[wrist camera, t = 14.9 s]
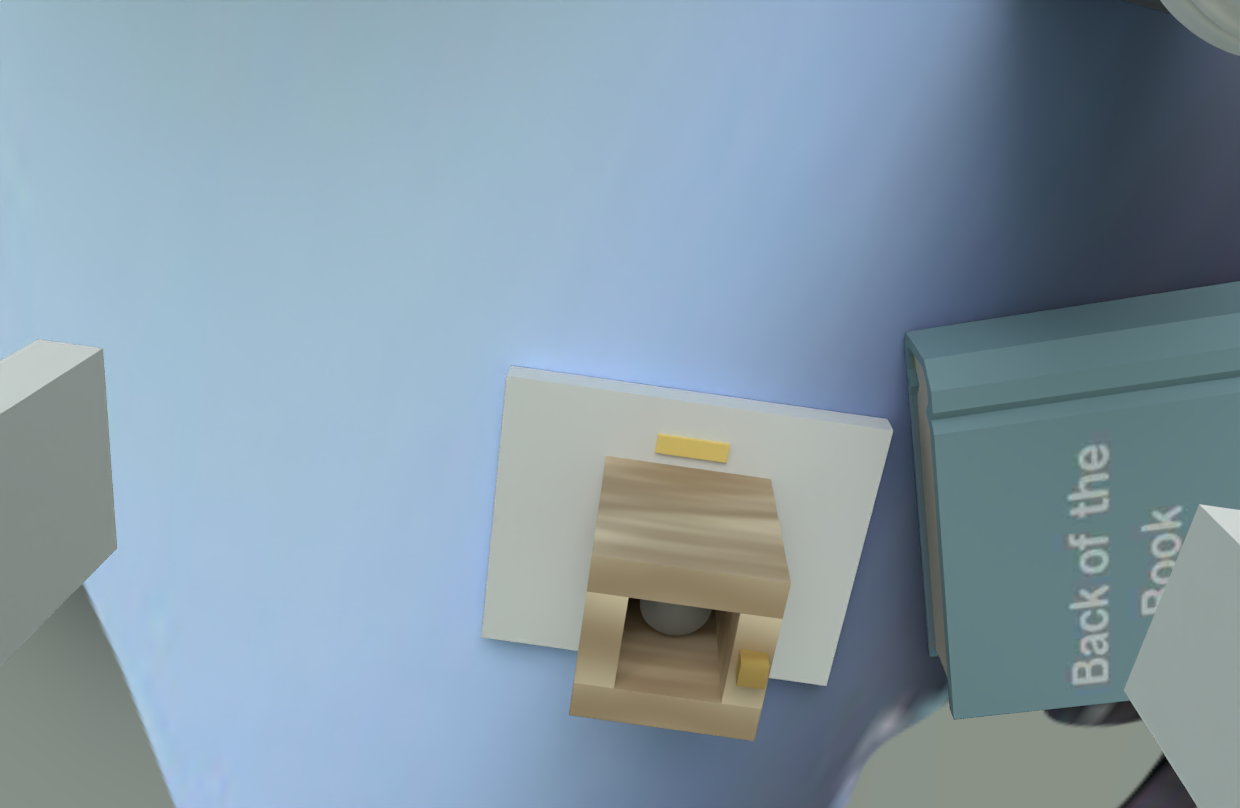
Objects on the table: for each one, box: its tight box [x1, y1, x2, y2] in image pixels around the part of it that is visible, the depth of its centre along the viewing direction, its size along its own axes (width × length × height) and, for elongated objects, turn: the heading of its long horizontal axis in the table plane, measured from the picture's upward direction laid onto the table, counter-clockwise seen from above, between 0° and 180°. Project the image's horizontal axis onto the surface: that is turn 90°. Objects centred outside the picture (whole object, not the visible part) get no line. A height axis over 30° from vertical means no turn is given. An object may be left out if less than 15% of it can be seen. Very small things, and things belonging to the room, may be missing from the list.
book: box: [904, 281, 1240, 720], centre depth 41 cm, size 23×16×5 cm
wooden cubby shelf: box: [569, 456, 791, 741], centre depth 40 cm, size 7×7×9 cm
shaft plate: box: [481, 366, 893, 686], centre depth 42 cm, size 16×13×6 cm
